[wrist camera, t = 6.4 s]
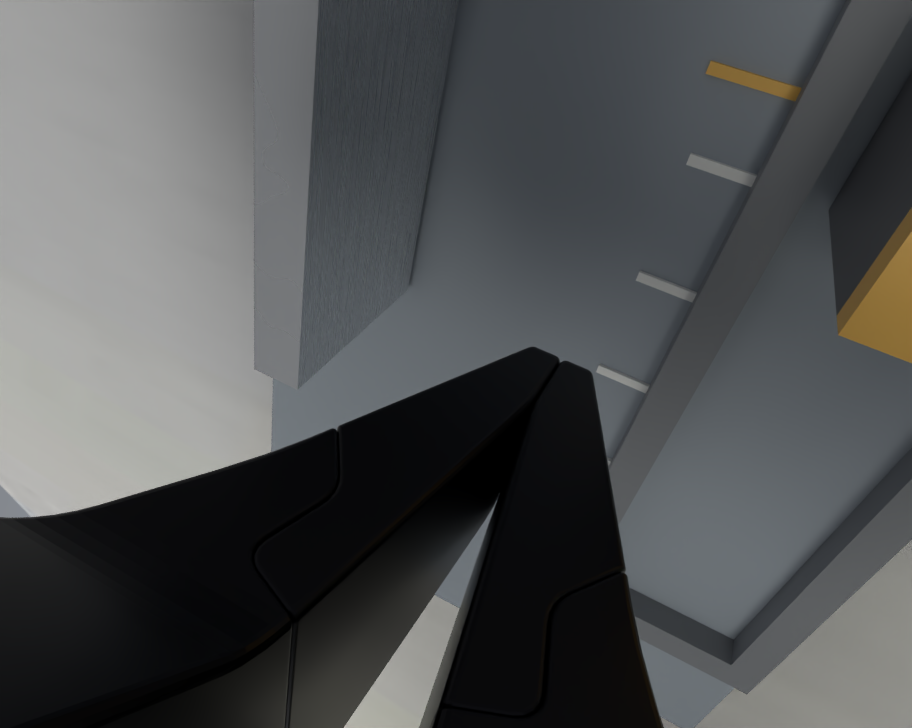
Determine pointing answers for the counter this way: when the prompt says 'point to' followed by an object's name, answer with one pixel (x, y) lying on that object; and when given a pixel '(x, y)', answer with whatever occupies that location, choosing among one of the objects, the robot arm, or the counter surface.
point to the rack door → (339, 167)
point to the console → (667, 300)
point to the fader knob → (877, 238)
